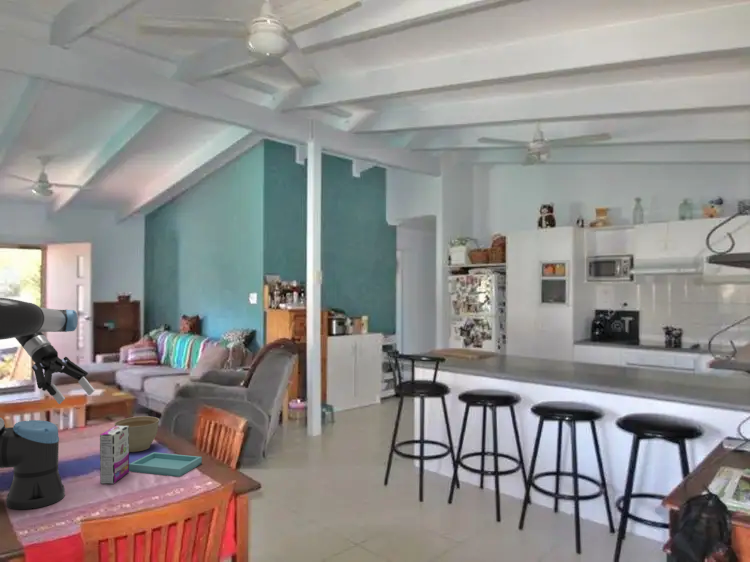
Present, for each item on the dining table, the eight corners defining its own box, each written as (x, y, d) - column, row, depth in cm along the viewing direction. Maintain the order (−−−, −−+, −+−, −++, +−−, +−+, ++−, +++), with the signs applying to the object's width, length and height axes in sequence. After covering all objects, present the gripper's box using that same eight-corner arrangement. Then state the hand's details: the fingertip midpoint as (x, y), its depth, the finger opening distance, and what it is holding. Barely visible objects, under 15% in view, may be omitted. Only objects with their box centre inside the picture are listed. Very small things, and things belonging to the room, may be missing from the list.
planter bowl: (145, 440, 234) (145, 414, 234) (166, 448, 224) (166, 420, 224) (106, 449, 221) (106, 421, 221) (127, 458, 211) (127, 429, 211)
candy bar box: (115, 472, 196) (115, 425, 196) (129, 472, 196) (129, 425, 195) (98, 484, 184) (99, 434, 184) (114, 484, 184) (114, 434, 184)
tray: (179, 476, 192) (179, 469, 192) (128, 471, 197) (128, 464, 197) (201, 463, 205) (201, 456, 205) (153, 458, 210) (153, 452, 210)
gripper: (62, 353, 210) (96, 396, 207) (3, 364, 186) (41, 412, 183) (74, 340, 209) (109, 382, 206) (17, 348, 185) (55, 397, 181)
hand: (77, 397), depth 194 cm, fingers open, 13 cm apart
